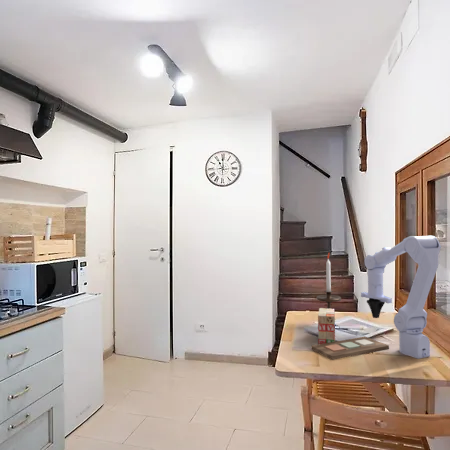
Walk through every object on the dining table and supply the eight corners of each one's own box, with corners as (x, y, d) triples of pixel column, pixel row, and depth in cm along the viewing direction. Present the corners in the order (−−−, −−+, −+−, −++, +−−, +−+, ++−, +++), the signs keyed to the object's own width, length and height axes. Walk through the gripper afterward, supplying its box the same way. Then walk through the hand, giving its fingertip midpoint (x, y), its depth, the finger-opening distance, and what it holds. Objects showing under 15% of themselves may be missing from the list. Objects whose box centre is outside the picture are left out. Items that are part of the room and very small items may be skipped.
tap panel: (388, 352, 135) (388, 345, 135) (332, 363, 125) (332, 356, 125) (364, 342, 147) (364, 336, 147) (311, 352, 136) (311, 345, 136)
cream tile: (374, 349, 137) (374, 342, 137) (364, 351, 135) (364, 344, 135) (364, 345, 142) (364, 339, 142) (354, 347, 140) (354, 340, 140)
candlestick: (344, 331, 161) (343, 252, 161) (320, 332, 161) (319, 253, 161) (337, 324, 172) (336, 251, 172) (314, 325, 172) (313, 251, 172)
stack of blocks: (320, 330, 162) (320, 303, 162) (335, 331, 160) (334, 303, 160) (318, 346, 142) (317, 314, 142) (335, 347, 140) (334, 315, 140)
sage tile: (360, 352, 135) (360, 345, 135) (349, 354, 133) (349, 347, 133) (350, 347, 139) (350, 341, 139) (340, 349, 137) (340, 343, 137)
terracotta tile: (345, 355, 132) (345, 348, 132) (334, 357, 130) (334, 350, 130) (335, 350, 136) (335, 344, 136) (325, 352, 135) (324, 346, 135)
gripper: (355, 282, 154) (355, 314, 154) (382, 288, 141) (382, 323, 141) (367, 281, 157) (368, 312, 157) (395, 286, 143) (395, 320, 143)
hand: (375, 317), depth 149 cm, fingers closed
